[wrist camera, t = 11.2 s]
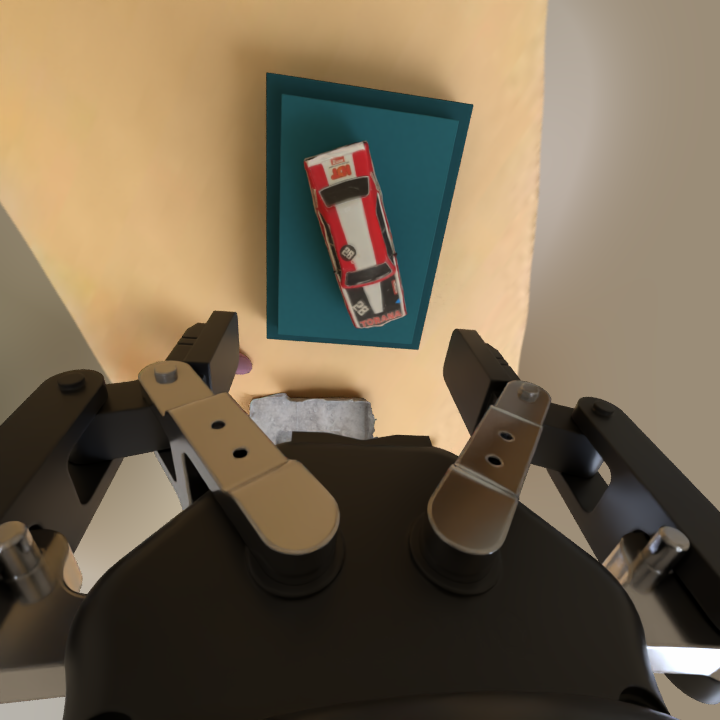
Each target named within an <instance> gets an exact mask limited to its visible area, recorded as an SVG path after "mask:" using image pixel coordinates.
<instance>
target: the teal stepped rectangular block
mask: <svg viewBox="0 0 720 720" xmlns="http://www.w3.org/2000/svg"><path fill="white" fill-rule="evenodd" d="M472 109H473V104H466V103H460V102H453V101H447V100H441V99H434V98H428V97H421V96H415V95H409V94H402V93H396V92H389V91H383V90H377V89H370V88H364V87H357V86H351V85H345V84H338V83H332V82H325V81H319V80H313V79H306V78H300V77H293V76H287V75H281V74H274V73H268V72H267V73H266V186H267V339H278V340H292V341H306V342H319V343H333V344H347V345H360V346H374V347H388V348H401V349H415V350H418V349H419V344H420V340H421V336H422V331H423V327H424V322H425V318H426V313H427V309H428V305H429V300H430V296H431V291H432V287H433V282H434V278H435V273H436V269H437V265H438V260H439V256H440V251H441V247H442V242H443V238H444V234H445V229H446V225H447V220H448V216H449V211H450V207H451V202H452V198H453V194H454V189H455V185H456V180H457V176H458V171H459V167H460V163H461V158H462V154H463V149H464V145H465V140H466V136H467V131H468V127H469V123H470V118H471V114H472ZM362 141H367V142H368V145H369V151H370V155H371V159H372V162H373V165H374V171H375V175H376V178H377V180H378V183H379V186H380V189H381V192H382V197H383V204H384V208H385V212H386V216H387V220H388V223H389V227H390V230H391V234H392V239H393V244H394V249H395V253H397V256H396V258H397V263H398V268H399V272H400V276H401V280H402V287H403V291H404V300H405V305H406V311H407V315H405V316H403V317H401V318H398V319H395V320H392V321H390V322H388V323H385V324H384V325H383V326H375V327H371V328H359V329H358V328H355V326H354V325H353V323H352V321H351V318H350V315H349V313H348V311H347V308H346V305H345V303H344V300H343V297H342V294H341V291H340V288H339V285H338V282H337V279H336V276H335V274H334V272H333V271H334V269H333V265H332V262H331V259H330V256H329V253H328V250H327V247H326V244H325V240H324V237H323V234H322V231H321V227H320V224H319V220H318V218H317V216H316V213H315V209H314V205H313V198H312V194H311V190H310V186H309V182H308V177H307V173H306V170H305V168H304V160H305V158H309V157H312V156H316V155H318V154H321V153H324V152H328V151H331V150H334V149H336V148H339V147H342V146H346V145H350V144H352V143H354V142H362Z"/></svg>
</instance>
